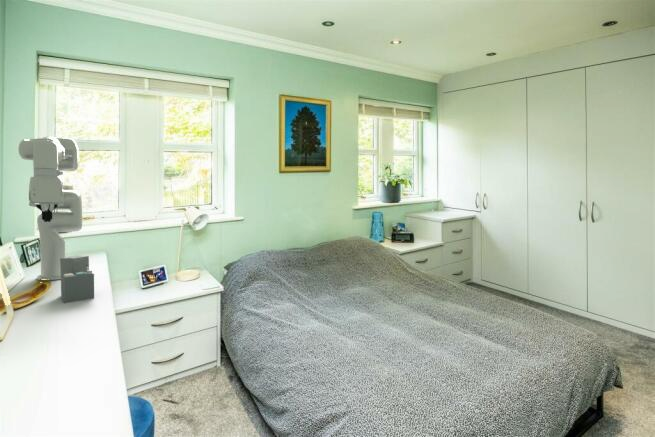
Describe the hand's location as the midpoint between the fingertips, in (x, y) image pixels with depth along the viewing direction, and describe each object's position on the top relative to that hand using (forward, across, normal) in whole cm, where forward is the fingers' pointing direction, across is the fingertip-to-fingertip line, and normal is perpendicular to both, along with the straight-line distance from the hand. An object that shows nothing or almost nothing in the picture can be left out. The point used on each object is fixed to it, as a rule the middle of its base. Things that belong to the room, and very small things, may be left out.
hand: (47, 221), depth 142 cm
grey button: (+21, -12, +6) cm, 25 cm away
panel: (+31, -8, +5) cm, 33 cm away
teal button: (+24, -9, +6) cm, 26 cm away
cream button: (+24, -5, +6) cm, 25 cm away
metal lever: (+21, -12, +4) cm, 25 cm away
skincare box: (+31, -10, -4) cm, 33 cm away
